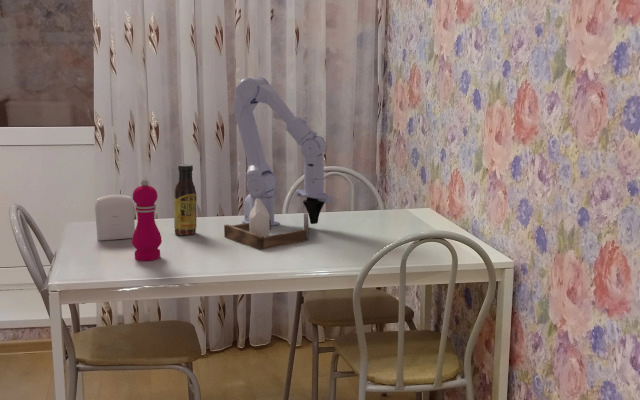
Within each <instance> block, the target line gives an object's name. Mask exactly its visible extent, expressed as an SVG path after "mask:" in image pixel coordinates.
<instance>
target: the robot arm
mask: <svg viewBox="0 0 640 400" xmlns="http://www.w3.org/2000/svg"><path fill="white" fill-rule="evenodd" d="M234 90H235V99H234V105H233V111H234V115H235V120H236V124H237V127H238V130H239V135H240V138H241V143H242V147H243V149H244V154H245V158H246V161H247V164H248V167H247V169H246V170H247V171H246V173H245V174H246V189H247V192H248V193H249V194H248V195H246V197H245V199H244V201H243V202H244V203H243V207H244V209H243V211H244V212H243V213H244V217H243V219H244V220H241V224H244V223H249V215H250V212H251V210H252V208H253V207H254V203H255V200H256V198H258V199H260V200H261V201H262V203H263V205H264V206H265V207H266V209H267V210H268V213H269V220H271V227H272V226H279V225H281V222H279V221H276V220H275V189H276V188H277V186H278V177H277V176H276V175H275V173H274V172H273V170H272V166H271V165H270V164H269V163H268V162H267V160H266V157H265V153H264V149H263V144H262V142H261V137H260V134H259V130H258V126H257V122H256V119H255V114H254V110H255V108H256V107H257V105H258V104H259V103H261V104H267V105H268V107H270V108H271V110H272V111H274V113H275V114H277V115H278V117H279V118H280V119H282V121H283V122H284V123H285V130H286V131H287V133H288V134H289V136H290V137H292V139H294V141H295V142H296V143H297V144H298V145H299V146H300V147H301V148H300V151H301V154H302V155H303V156H304V159H303V160H304V161H303V164H304V165H303V166H304V167H303V169H304V171H303V176H304V177H303V179H304V180H303V181H304V182H303V183H304V185H303V189H296V190H295V196H296V197H298V198H299V197H301V198H304V199H305V198H306V200H303V202H302V203H303V205H304V207H305V208H306V209H305V210H306V211H307V213H308V219H309V225H310V224H311V225H316V224H318V223H319V217H320V214H321V211H322V208H323V207H324V205H325V204H331V203H332V204H333V202H334V201H333V200H334V198H333V195H330V194H328V193H326V192H324V191H325V189H324V188H325V187H324V186H325V185H324V184H325V182H324V179H325V178H324V177H325V167H324V166H325V161H324V159H325V156H324V153H325V152H326V151H327V148H328V147H327V142H326V141H325V139H324V137H322V136H321V135H318V133H317V132H316V131H314V130H313V129H312V128H311V127H310V126H309V125H308V123H307V122H308V121H307V119H306V118H303V117H301V116H295V114H294V113H293V112H292V111H291V109H290V108H289V107H288V106H287V104H286V103H285V102H284V100H283V99H282V97H280V95H279V94H278V93H277V91H276V89H275V87H274V86H273V85H272V84H271V83H269V81H268V80H267V79H266V78H265V77H262V76H257V77H243V78H242V79H241V80H240V81H239V82H238V84H237V86H235V88H234Z"/></svg>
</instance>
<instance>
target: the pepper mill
mask: <svg viewBox="0 0 640 400" xmlns="http://www.w3.org/2000/svg"><path fill="white" fill-rule="evenodd" d="M157 200H158V192H157V190H156V188H155V187H153V186H150V185H149V180H147V179H146V178H145V179H141V182H140V185H139V186H137V187H136V188H135V189H134V190H133V192H132V201H133V203H135V204H136V205H134V207H135V209H134V212H136V214H137V222H136V226H135V227H136V228H135V231H134V234H133V237H132V238H131V243H132V244H131V245H132V246H133V247H134V249H135V251H134V259H135V260H136V261H141V262H150V261H155V260H159V259H160V258H161V249H159V247H160V246H161V244H162V242H163V240H162V234H161V232H160V230H159V228H158V226H157V223H156V220H155V212H156V210H157V208H156V206H157V205H156V204H155V203H156V202H157Z"/></svg>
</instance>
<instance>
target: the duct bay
mask: <svg viewBox="0 0 640 400" xmlns="http://www.w3.org/2000/svg"><path fill="white" fill-rule="evenodd" d="M269 224H270V226H269V227H270V231H271V230H272V229H271V227H272V226H271V220H269ZM223 229H224V234H223V235H224V238H226V239H229V240H231V241H234V242H237V243H239V244H242V245H245V246H248V247H251V248H254V249H256V250H260V251H263V250H267V249H272V248H278V247H283V246H287V245H292V244H297V243H301V242H306V241H309V236H308V225H305V230H304V229H300V230H295V231H294V230H293V231H289V232H283V233H278V234H273V235H270V236H266V237H264V236H261V235H258V234H255V233H252V232H250V229H249V223H238V224H232V225H231V224H224V226H223Z"/></svg>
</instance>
